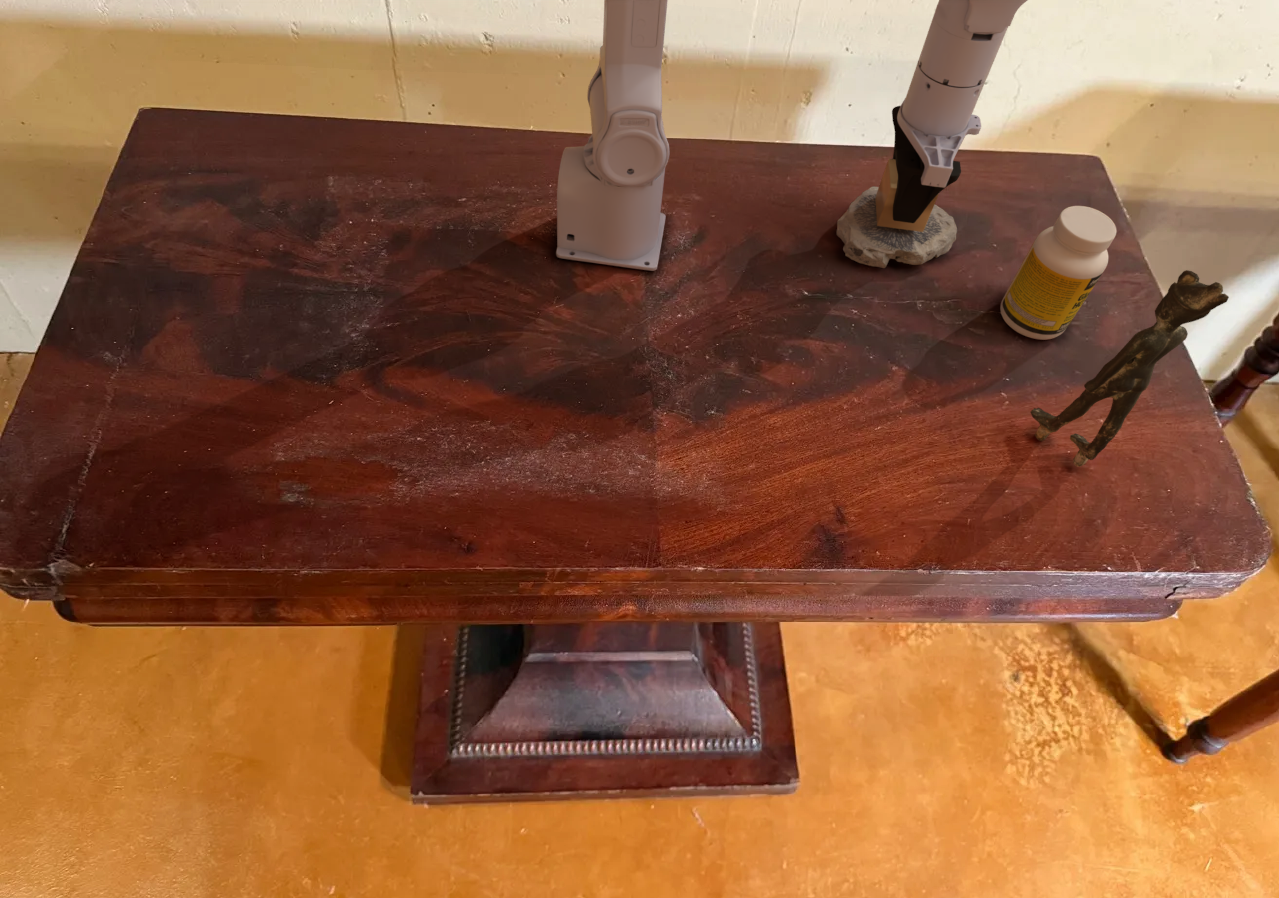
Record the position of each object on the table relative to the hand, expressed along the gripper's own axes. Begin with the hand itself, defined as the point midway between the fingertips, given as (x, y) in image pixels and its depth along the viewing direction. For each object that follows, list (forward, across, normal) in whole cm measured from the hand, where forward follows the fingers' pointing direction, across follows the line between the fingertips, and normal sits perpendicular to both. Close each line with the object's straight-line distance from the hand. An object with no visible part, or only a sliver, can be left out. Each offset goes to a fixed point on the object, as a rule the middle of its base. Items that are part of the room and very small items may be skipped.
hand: (902, 202), depth 84 cm
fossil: (+5, 0, 0) cm, 5 cm away
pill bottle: (+5, -8, -13) cm, 16 cm away
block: (+1, 0, 0) cm, 1 cm away
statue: (+5, -24, -13) cm, 27 cm away
